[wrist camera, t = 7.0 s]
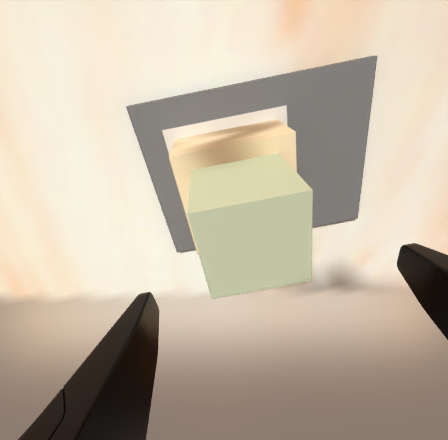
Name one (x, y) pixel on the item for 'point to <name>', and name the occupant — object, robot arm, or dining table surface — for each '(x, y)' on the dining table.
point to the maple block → (229, 150)
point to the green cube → (251, 225)
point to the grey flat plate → (264, 111)
